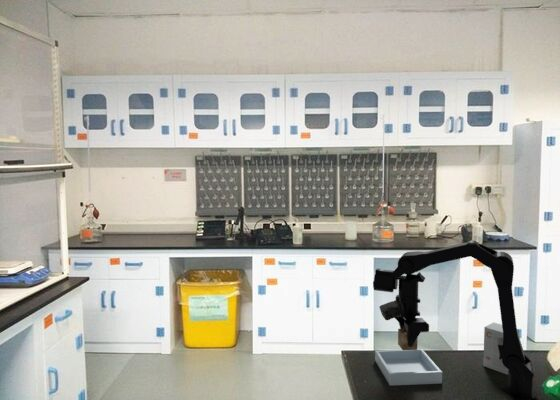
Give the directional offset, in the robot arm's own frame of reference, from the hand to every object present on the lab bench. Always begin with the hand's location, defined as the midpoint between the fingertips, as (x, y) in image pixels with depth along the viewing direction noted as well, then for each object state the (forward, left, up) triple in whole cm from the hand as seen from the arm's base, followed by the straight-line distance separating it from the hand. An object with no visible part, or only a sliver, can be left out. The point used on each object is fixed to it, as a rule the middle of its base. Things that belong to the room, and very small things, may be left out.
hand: (407, 343), depth 136 cm
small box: (0, -30, -9) cm, 31 cm away
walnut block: (0, 0, -1) cm, 1 cm away
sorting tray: (0, 0, -9) cm, 9 cm away
